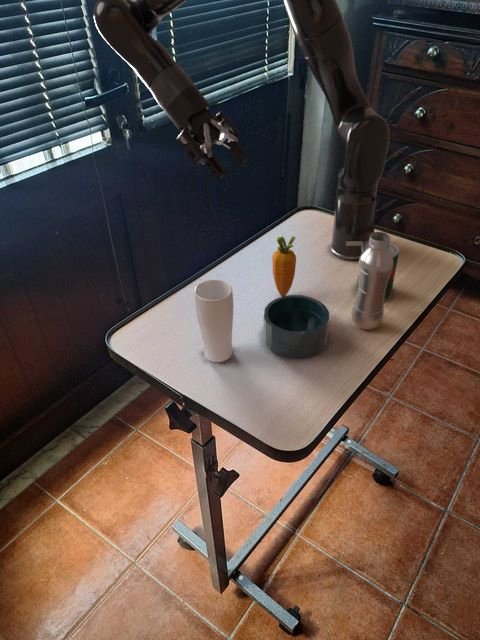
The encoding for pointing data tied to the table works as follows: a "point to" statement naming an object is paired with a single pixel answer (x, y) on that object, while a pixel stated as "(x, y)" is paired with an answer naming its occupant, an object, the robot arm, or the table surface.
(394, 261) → the canned tomato
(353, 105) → the robot arm
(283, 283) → the carrot
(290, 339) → the pot
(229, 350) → the drinking glass
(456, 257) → the table surface
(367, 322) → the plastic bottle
